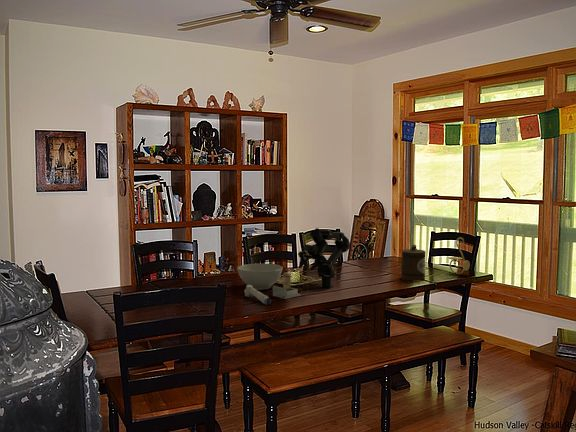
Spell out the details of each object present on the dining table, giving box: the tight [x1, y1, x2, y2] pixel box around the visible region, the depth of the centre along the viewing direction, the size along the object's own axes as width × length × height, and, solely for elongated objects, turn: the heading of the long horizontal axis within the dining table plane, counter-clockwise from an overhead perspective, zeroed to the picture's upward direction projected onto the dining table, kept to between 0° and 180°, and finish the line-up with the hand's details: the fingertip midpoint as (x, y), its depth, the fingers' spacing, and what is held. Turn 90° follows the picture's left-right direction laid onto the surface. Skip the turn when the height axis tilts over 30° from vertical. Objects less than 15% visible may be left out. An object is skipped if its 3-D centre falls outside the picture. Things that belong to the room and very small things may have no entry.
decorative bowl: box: [237, 263, 284, 291], centre depth 301 cm, size 27×27×12 cm
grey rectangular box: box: [272, 285, 302, 300], centre depth 281 cm, size 12×10×6 cm
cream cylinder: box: [282, 271, 292, 291], centre depth 280 cm, size 4×4×12 cm
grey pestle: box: [243, 284, 272, 306], centre depth 272 cm, size 5×7×25 cm
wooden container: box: [401, 244, 427, 281], centre depth 326 cm, size 15×15×22 cm
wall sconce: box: [447, 237, 471, 275], centre depth 340 cm, size 14×10×25 cm
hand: (304, 269), depth 286 cm, fingers open, 9 cm apart
